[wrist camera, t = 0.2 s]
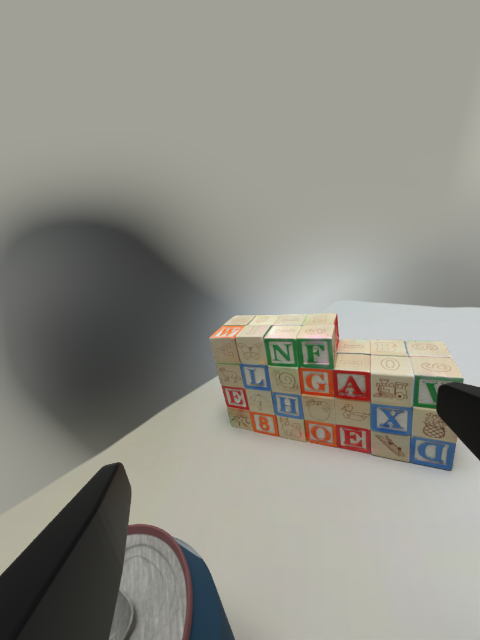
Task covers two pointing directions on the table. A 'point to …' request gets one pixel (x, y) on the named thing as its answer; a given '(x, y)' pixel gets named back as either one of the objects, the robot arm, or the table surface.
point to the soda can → (166, 591)
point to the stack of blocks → (336, 386)
